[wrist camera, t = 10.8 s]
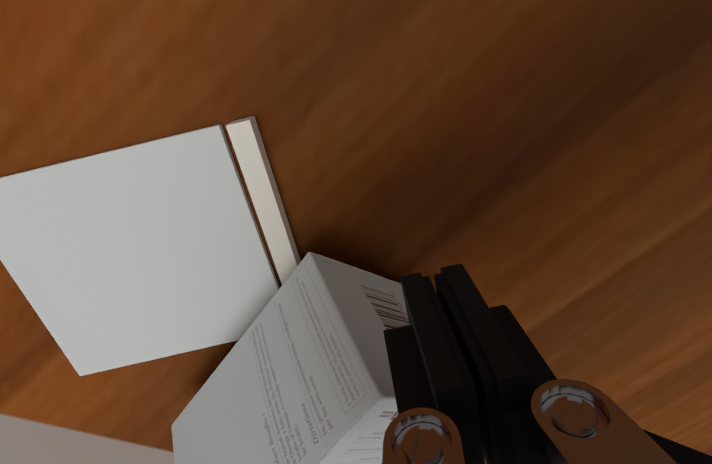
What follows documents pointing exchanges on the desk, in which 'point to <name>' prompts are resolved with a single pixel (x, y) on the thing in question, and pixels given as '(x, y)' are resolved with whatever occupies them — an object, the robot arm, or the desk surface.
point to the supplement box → (302, 376)
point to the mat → (137, 250)
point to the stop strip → (264, 194)
